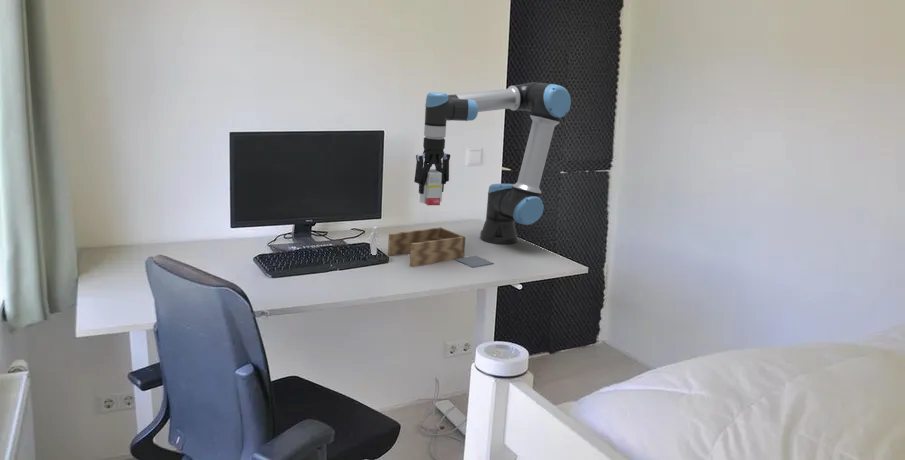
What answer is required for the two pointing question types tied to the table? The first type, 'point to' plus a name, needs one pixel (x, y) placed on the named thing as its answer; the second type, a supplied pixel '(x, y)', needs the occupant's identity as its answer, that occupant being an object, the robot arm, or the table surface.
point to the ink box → (433, 187)
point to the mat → (474, 261)
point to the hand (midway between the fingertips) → (430, 201)
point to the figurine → (373, 241)
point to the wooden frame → (427, 245)
